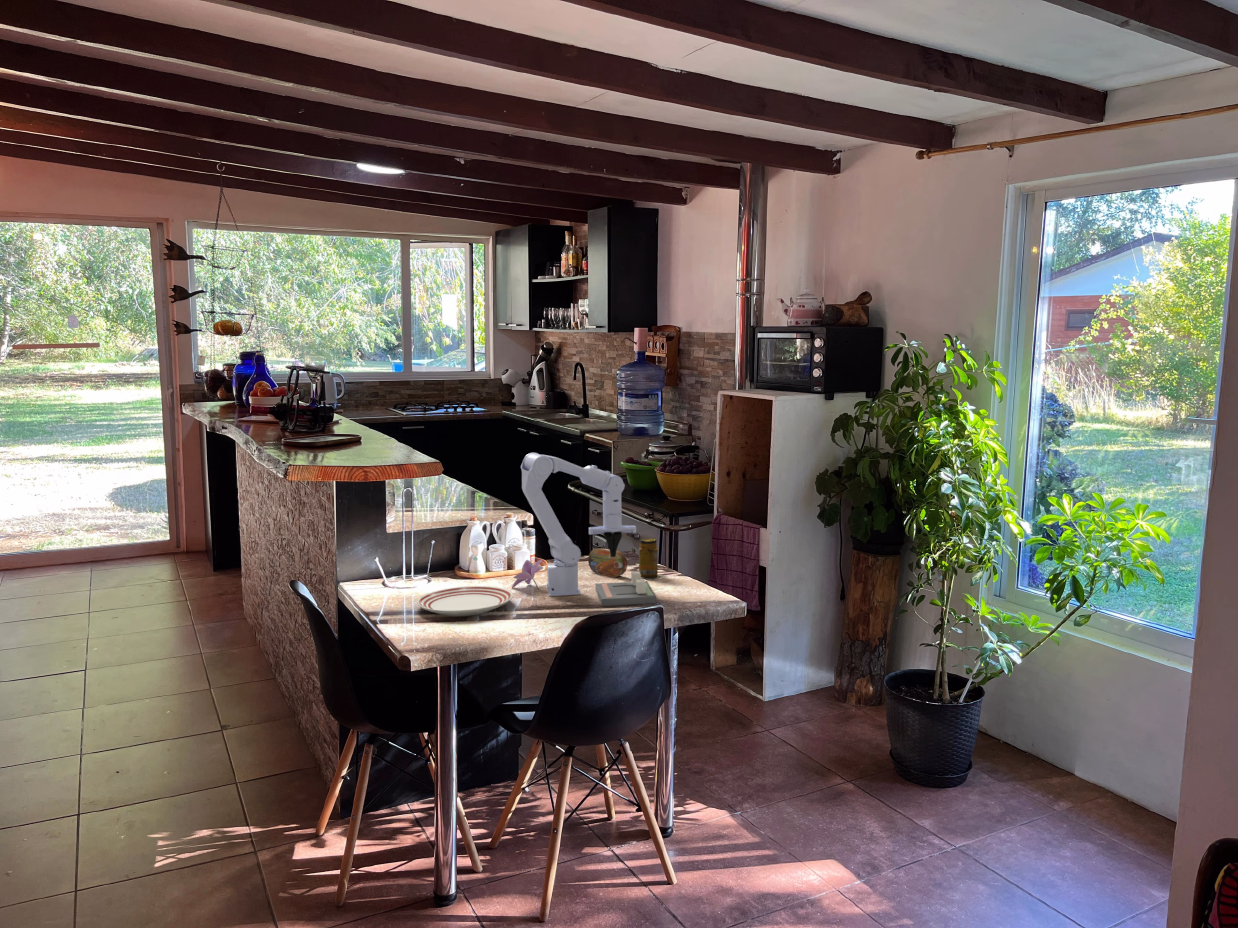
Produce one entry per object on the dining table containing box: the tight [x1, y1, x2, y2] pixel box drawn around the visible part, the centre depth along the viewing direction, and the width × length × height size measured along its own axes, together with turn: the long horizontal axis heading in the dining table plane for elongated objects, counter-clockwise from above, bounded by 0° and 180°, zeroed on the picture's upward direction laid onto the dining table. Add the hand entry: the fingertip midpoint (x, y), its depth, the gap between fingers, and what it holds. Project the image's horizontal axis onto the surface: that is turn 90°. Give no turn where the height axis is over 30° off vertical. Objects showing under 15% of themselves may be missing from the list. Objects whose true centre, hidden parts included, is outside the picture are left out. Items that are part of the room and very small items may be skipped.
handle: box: [630, 571, 642, 586], centre depth 280 cm, size 2×3×4 cm
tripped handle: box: [636, 578, 646, 594], centre depth 271 cm, size 2×3×4 cm
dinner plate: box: [416, 585, 514, 617], centre depth 267 cm, size 27×27×3 cm
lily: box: [511, 558, 544, 591], centre depth 286 cm, size 12×12×10 cm
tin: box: [587, 547, 628, 578], centre depth 301 cm, size 15×3×8 cm, turn 50°
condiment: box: [638, 537, 668, 581], centre depth 298 cm, size 7×8×12 cm
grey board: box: [594, 580, 657, 607], centre depth 276 cm, size 16×17×2 cm
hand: (612, 556), depth 287 cm, fingers closed
